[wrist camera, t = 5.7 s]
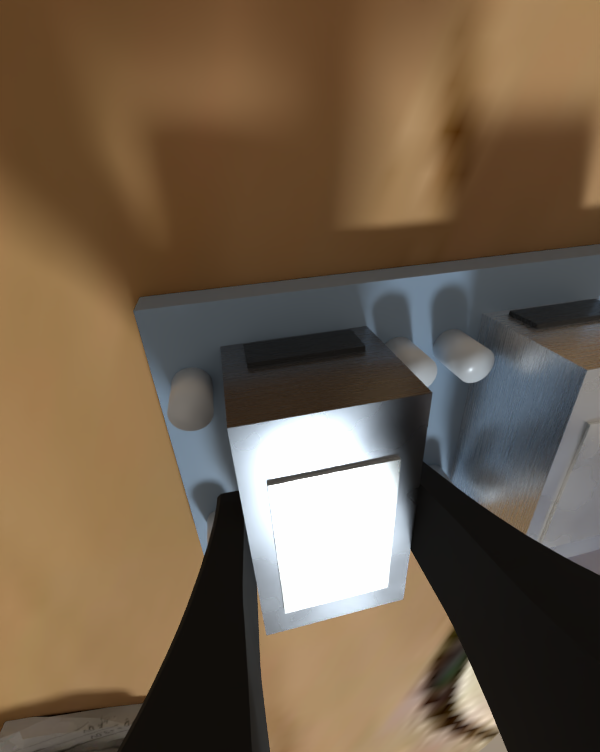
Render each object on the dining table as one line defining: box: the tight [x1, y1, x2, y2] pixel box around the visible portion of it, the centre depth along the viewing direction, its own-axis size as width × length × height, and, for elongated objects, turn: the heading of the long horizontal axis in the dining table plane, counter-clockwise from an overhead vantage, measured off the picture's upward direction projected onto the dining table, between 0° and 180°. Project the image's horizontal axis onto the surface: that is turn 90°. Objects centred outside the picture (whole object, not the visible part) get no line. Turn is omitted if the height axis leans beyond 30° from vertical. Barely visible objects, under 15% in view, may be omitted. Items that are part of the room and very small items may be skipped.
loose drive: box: [220, 326, 433, 635], centre depth 12 cm, size 4×8×4 cm, turn 3°
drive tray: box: [133, 244, 600, 555], centre depth 14 cm, size 17×11×3 cm, turn 93°
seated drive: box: [450, 297, 600, 558], centre depth 13 cm, size 4×8×4 cm, turn 3°
